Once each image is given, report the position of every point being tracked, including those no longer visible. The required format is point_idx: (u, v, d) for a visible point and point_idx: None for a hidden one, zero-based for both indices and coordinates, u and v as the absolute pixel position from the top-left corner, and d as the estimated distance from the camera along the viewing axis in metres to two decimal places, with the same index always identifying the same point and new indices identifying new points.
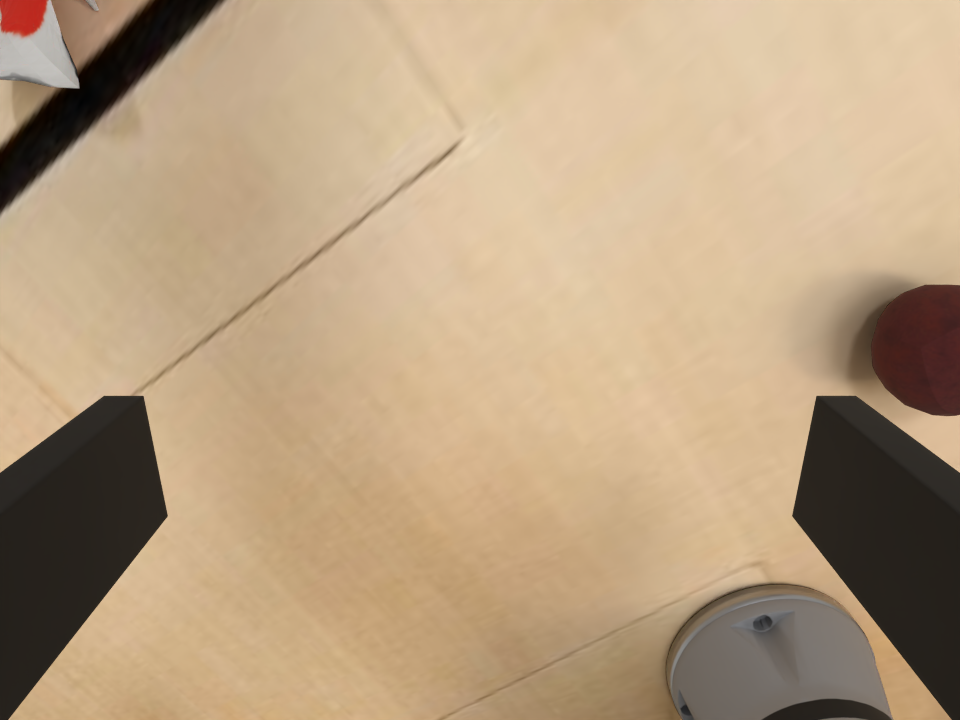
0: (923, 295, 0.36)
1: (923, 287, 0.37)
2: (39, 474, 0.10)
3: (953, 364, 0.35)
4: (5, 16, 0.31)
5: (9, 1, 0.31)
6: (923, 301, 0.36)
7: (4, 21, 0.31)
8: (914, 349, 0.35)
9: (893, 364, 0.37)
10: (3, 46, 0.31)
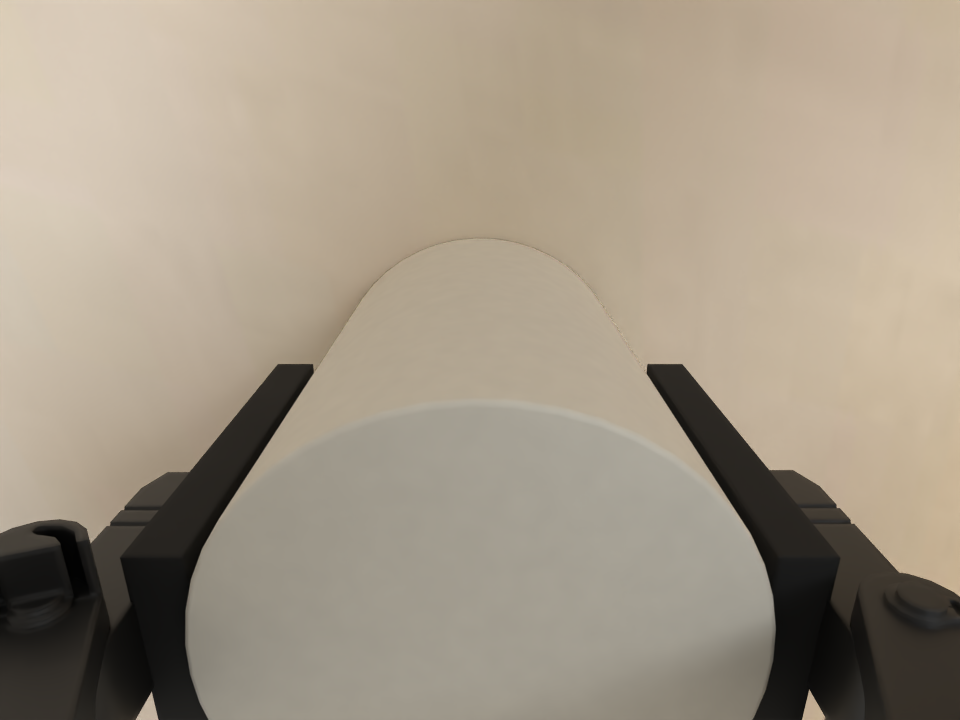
0: None
1: None
2: (263, 424, 0.11)
3: None
4: None
5: None
6: None
7: None
8: None
9: None
10: None
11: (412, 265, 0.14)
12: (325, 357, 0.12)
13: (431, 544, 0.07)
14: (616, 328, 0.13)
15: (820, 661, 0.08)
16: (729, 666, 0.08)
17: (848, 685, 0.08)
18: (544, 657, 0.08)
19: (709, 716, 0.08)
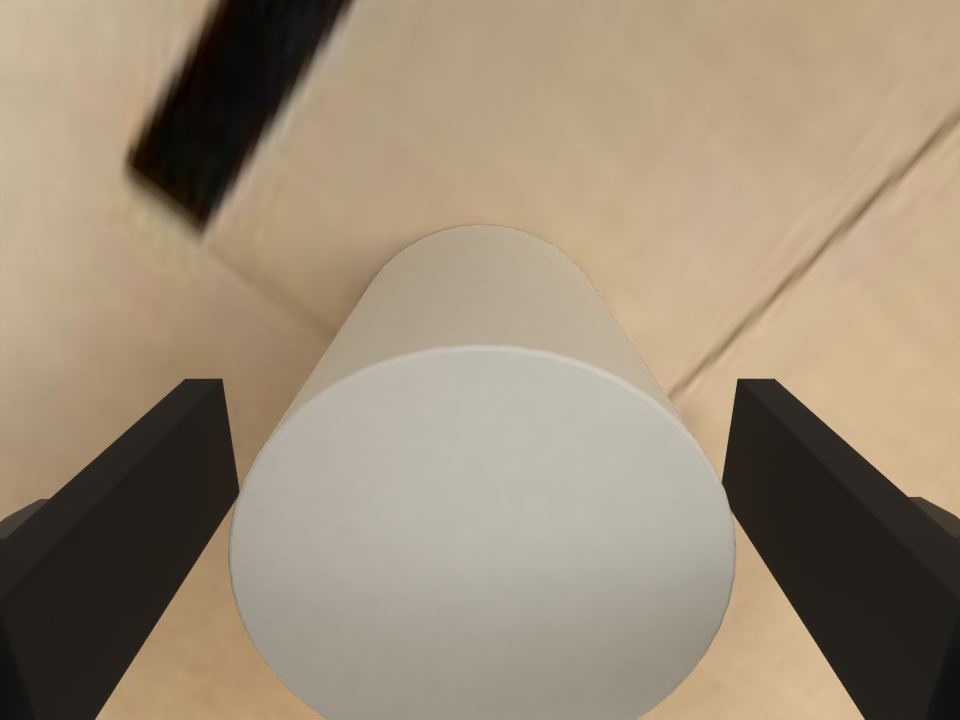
0: None
1: None
2: (146, 447, 0.10)
3: None
4: None
5: None
6: None
7: None
8: None
9: None
10: None
11: (419, 248, 0.15)
12: (342, 328, 0.13)
13: (440, 472, 0.08)
14: (605, 304, 0.14)
15: None
16: (696, 581, 0.09)
17: None
18: (537, 573, 0.09)
19: (680, 627, 0.09)
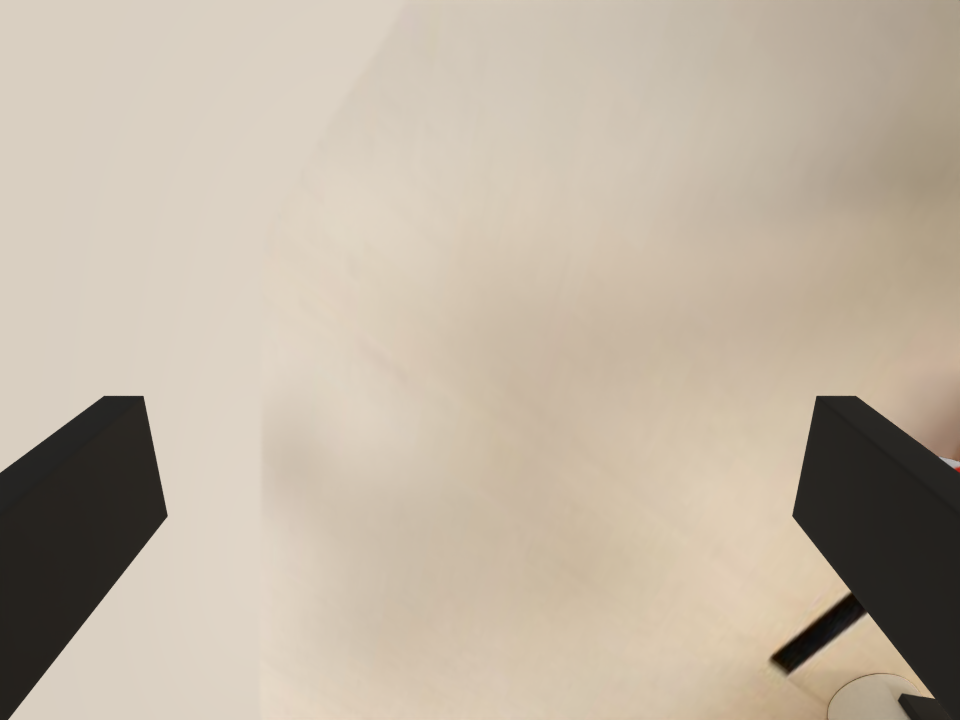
0: None
1: None
2: (39, 474, 0.10)
3: None
4: None
5: None
6: None
7: None
8: None
9: None
10: None
11: (875, 694, 0.49)
12: None
13: None
14: None
15: None
16: None
17: None
18: None
19: None
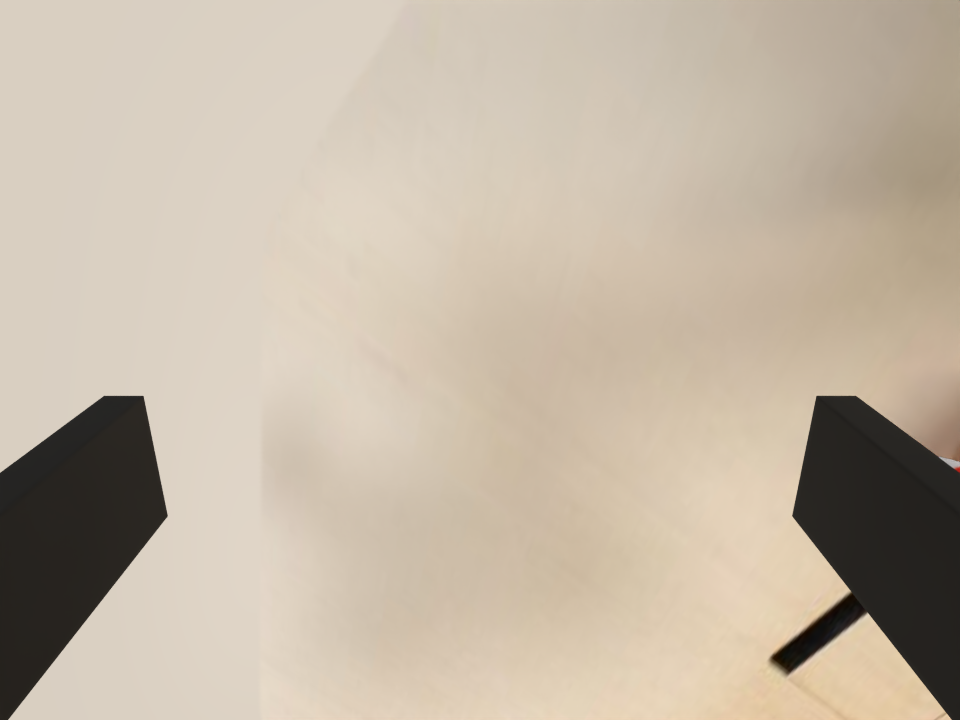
0: None
1: None
2: (39, 474, 0.10)
3: None
4: None
5: None
6: None
7: None
8: None
9: None
10: None
11: None
12: None
13: None
14: None
15: None
16: None
17: None
18: None
19: None
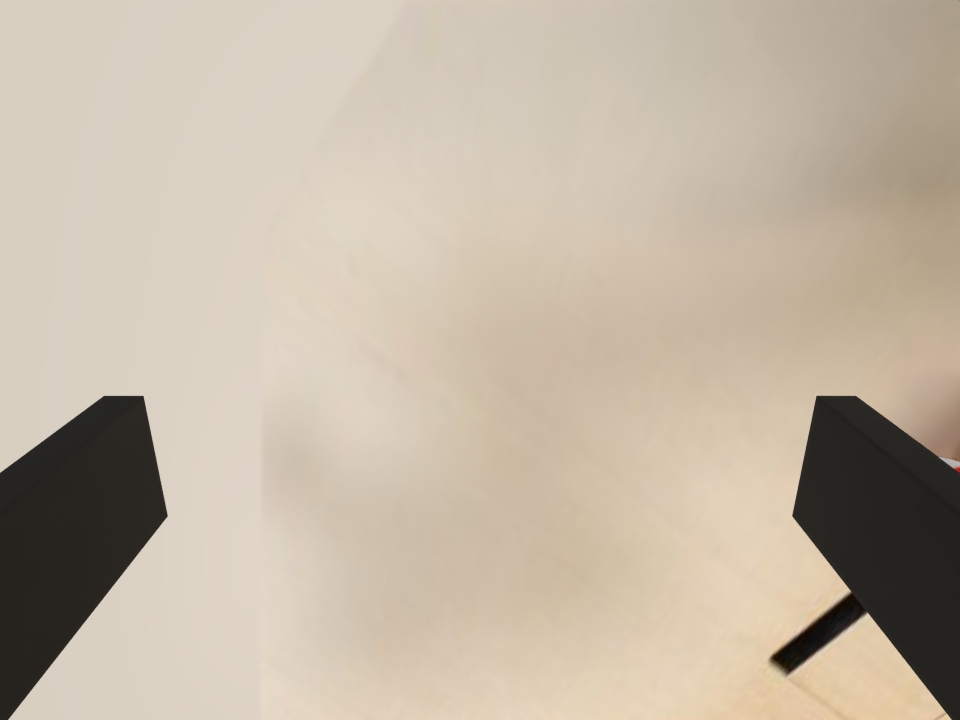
0: None
1: None
2: (39, 474, 0.10)
3: None
4: None
5: None
6: None
7: None
8: None
9: None
10: None
11: None
12: None
13: None
14: None
15: None
16: None
17: None
18: None
19: None
